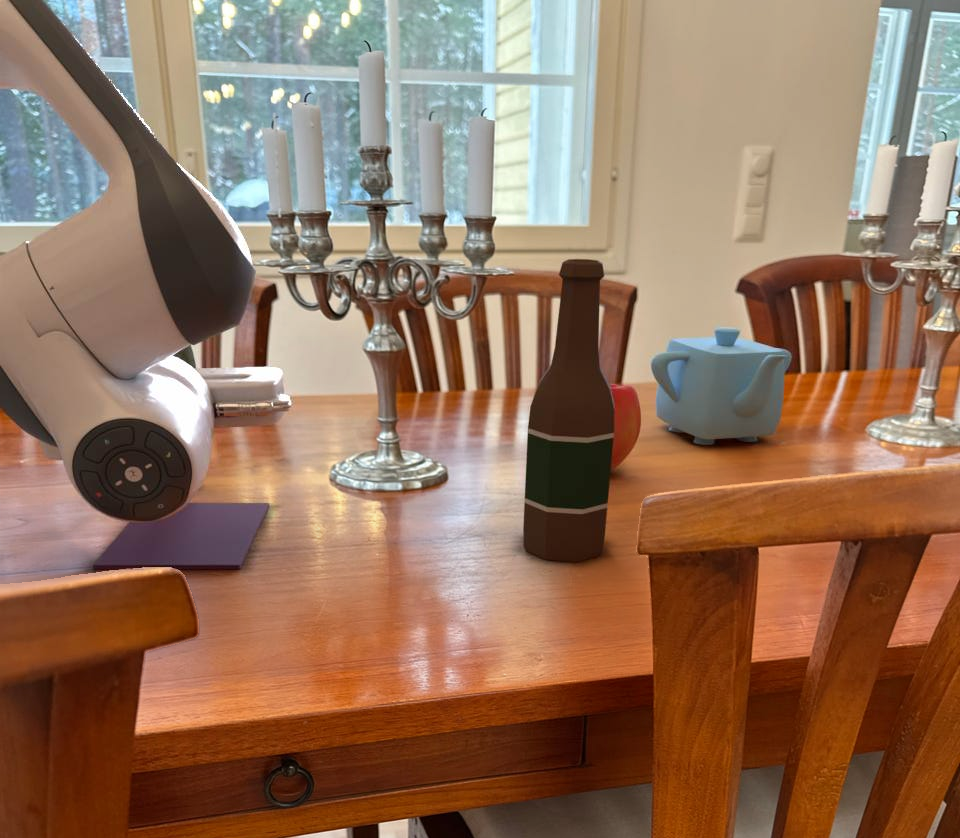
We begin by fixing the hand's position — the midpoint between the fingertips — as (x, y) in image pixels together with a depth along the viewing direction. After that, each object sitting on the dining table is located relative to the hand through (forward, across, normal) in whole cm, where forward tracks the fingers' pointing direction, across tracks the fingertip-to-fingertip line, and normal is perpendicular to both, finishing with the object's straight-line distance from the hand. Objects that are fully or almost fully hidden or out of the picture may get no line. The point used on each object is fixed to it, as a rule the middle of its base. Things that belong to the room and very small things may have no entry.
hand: (168, 378), depth 81 cm
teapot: (+19, -66, +13) cm, 70 cm away
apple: (+8, -45, +13) cm, 47 cm away
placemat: (-6, 0, +13) cm, 14 cm away
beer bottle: (-15, -34, +13) cm, 39 cm away
